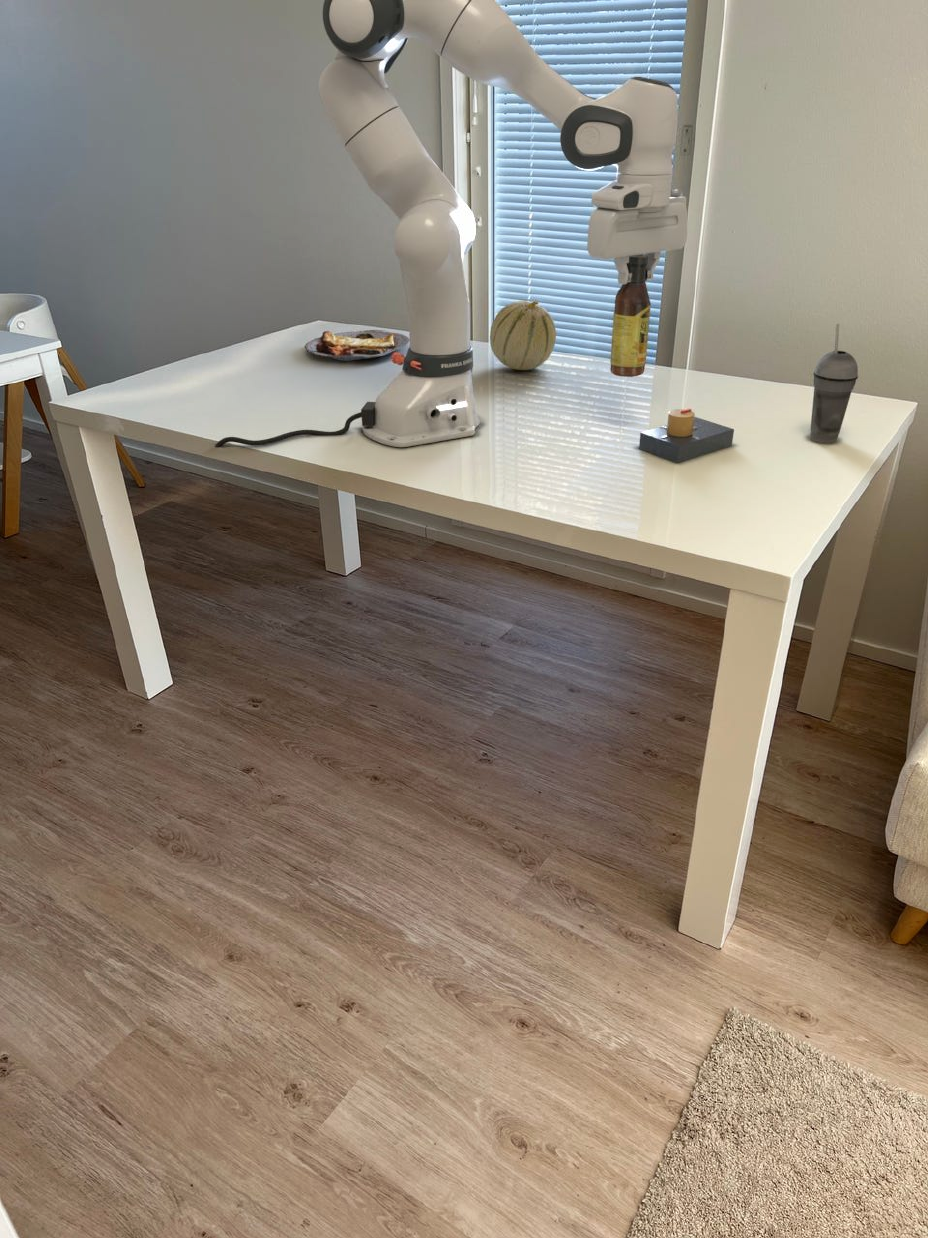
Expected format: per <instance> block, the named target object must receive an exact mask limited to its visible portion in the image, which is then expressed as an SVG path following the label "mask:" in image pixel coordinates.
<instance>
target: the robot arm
mask: <svg viewBox="0 0 928 1238" xmlns="http://www.w3.org/2000/svg"><path fill="white" fill-rule="evenodd" d="M322 22H323V28H324V30H325V33H326V35H327V37H328V39H329V41H330V42H331V44H332V45H333V46H334V47H335V48H336V49H337V53H336V56H335V57H334V59H333V60H332V61H330V62H329V63H328V65H326V67H325V68H324V70H323V71H322V73H321V74H320V77H319V80H318V88H317V91H318V94H319V97H320V101H321V103H322V105H323V107H324V110H325V112H326V114H327V116H328V119H329V121H330V123H331V125H332V127H333V129H334V131H335V133H336V134H337V136H338V138H339V140H340V142H341V143H342V145H343V147H344V148H345V150H346V151H347V153H348V155H349V156H350V158H351V161H352V162H353V163H354V165H355V166H356V168H357V169H358V171H359V173H360V174H361V176H362V178H363V180H365V182H366V184H367V186H368V187H369V189H370V190H371V192H372V193H374V194H375V195H376V196H377V197H378V198H380V200H381V201H382V202H384V204H385V205H386V206H387V207H388V209H390V210H391V212H392V213H393V214H394V215H395V216H396V217H397V219H398V220H399V222H398V224H397V227H396V229H395V233H394V237H393V247H394V251H395V255H396V257H397V259H398V260H399V268H400V273H401V277H402V282H403V286H404V291H405V296H406V304H407V312H408V313H407V314H408V316H407V317H408V331H409V332H408V333H409V336H408V338H409V339H410V342H409V347H408V349H407V352H406V353H405V355H404V354H403V353H400V352H396V351H394V352H393V353H392V355H391V356H390V360H391V362H392V363H393V364H395V365H398V366H402V371H401V372H400V373H399V374H398V375H397V376H396V377H395V378H394V379H393V380H392V381H391V383H390V384H389V385H388V386H386V387H385V388H384V389H383V391H382V392H380V394H379V395H378V396H377V397H376V399H375V401H366V403H365V404H364V405H363V406H362V408H361V409H360V412H357V413H354V414H353V415H350V416H349V417H348V418H347V419H346V420H345V423H344V427H343V428H341V429H339V430H335V431H324V430H317V429H316V430H315V429H299V430H298V429H297V430H293V431H289V432H286V433H283V434H279V435H277V436H273V437H269V438H265V439H257V440H253V439H252V440H251V439H246V438H241V437H237V436H227V437H224V438H221V439H219V441H218V442H217V443H216V444H215V446H214V447H215V448H222V446H223V445H225V444H227V443H237V444H241V445H246V446H253V447H254V446H255V447H256V446H257V447H258V446H264V445H270V444H273V443H277V442H280V441H284V440H286V439H290V438H293V437H298V436H305V435H306V436H307V435H309V436H323V437H326V436H328V437H329V436H330V437H331V436H334V437H335V436H341V435H343V434H346V433H348V431H349V430H350V427H351V423H353V422H354V421H355V420H358V419H361V426H362V430H361V431H362V433H363V434H364V435H365V436H366V437H367V438H368V439H370V440H373V441H375V442H377V443H380V444H382V445H385V446H389V447H395V448H407V447H413V446H419V445H426V444H431V443H436V442H443V441H449V440H455V439H460V438H467V437H471V436H474V435H476V428H477V427H479V425H480V424H481V420H480V417H479V414H478V410H477V406H476V402H475V401H476V400H475V395H474V388H473V387H474V386H473V377H472V373H473V367H474V353H473V346H471V307H470V306H471V304H470V300H469V296H468V292H467V286H466V281H465V280H466V279H465V272H464V256H465V255H466V254H467V253H468V252H469V251H470V249H471V247H472V246H473V243H474V241H475V237H476V231H477V230H476V229H477V228H476V220H475V219H476V218H475V216H474V213H473V211H472V209H471V208H470V207H469V205H468V204H466V202H465V201H464V200H463V199H462V197H461V196H460V194H459V193H458V192H457V190H456V188H455V187H454V186H453V184H452V183H451V182H450V180H449V179H448V178H447V177H446V175H445V174H444V173H443V171H442V170H441V169H440V167H439V166H438V165H437V164H436V163H435V161H434V160H433V158H432V157H431V156H430V154H429V153H428V151H427V150H426V149H425V146H424V145H423V144H422V142H421V140H420V138H419V137H418V135H417V133H416V132H415V131H414V129H413V127H412V125H411V123H410V122H409V120H408V119H407V117H406V115H405V113H404V111H403V110H402V108H401V106H400V105H399V103H398V102H397V99H396V98H395V96H394V95H393V93H392V92H391V89H390V87H389V86H388V83H387V81H386V77H385V74H387V73H388V72H389V71H390V70H391V68H392V67H393V65H394V63H395V62H396V61H397V59H398V57H399V56H400V54H401V53H402V51H403V50H404V48H405V47H406V45H407V43H408V41H409V39H415V40H417V41H419V42H421V43H423V44H424V45H425V46H426V47H428V48H429V49H430V50H432V51H433V52H434V53H435V54H436V55H438V56H439V57H440V58H441V59H442V60H443V61H444V62H445V63H447V64H448V65H449V66H450V67H452V68H453V69H455V70H456V71H458V72H459V73H460V74H462V75H464V76H466V77H468V78H469V79H471V80H473V81H475V82H477V83H478V84H479V83H480V84H482V85H487V86H490V87H493V88H498V89H500V90H504V91H507V92H510V93H511V94H514V95H516V96H517V97H519V98H521V99H522V100H523V101H525V102H526V103H527V104H529V105H530V107H532V108H533V109H534V110H536V112H538V113H539V114H540V115H542V116H543V117H544V118H546V120H548V121H549V122H550V123H551V124H553V126H555V127H556V128H557V129H558V130H559V132H560V136H559V140H560V141H559V142H560V148H561V151H562V153H563V155H564V157H565V159H566V160H567V161H568V162H569V163H570V164H571V165H572V166H574V167H576V168H578V169H579V170H583V171H596V170H599V169H602V168H604V167H609V166H615V167H616V179H615V180H613V181H610V182H609V183H608V184H607V185H605V186H602V187H601V188H599V189H597V190H596V191H594V192H593V193H592V194H591V206H592V207H594V209H593V210H592V212H591V214H590V216H589V221H588V230H587V244H586V245H587V246H586V247H587V248H586V249H587V253H588V254H589V256H590V257H591V258H593V259H596V260H612V259H614V260H613V263H614V266H615V267H616V271H617V273H618V274H617V276H618V277H617V283H618V284H619V285H624V284H629V283H631V281H632V280H631V278H632V273H630V272H628V268H627V264H626V263H629V256H633V255H640V254H644V255H647V256H648V264H647V266H646V281H645V282H647V281H652V280H653V278H654V273H655V271H654V270H656V267H657V265H658V263H659V261H660V259H661V252H669V251H674V250H682V249H683V248H684V247H685V245H686V243H687V239H688V208H687V197H686V195H685V193H684V192H683V191H682V190H681V189H674V190H672V180H673V173H674V170H673V169H674V168H673V163H672V157H673V151H674V149H675V147H676V143H677V132H678V118H679V117H678V116H679V115H678V114H679V105H678V95H677V92H676V91H675V89H674V87H673V86H672V85H671V84H669V83H668V82H666V81H661V80H658V79H654V78H649V77H643V76H633V77H630V78H629V79H628V80H627V81H626V82H625V83H623V84H621V86H618V87H617V88H616V89H614V90H612V91H611V92H609V93H606V94H605V95H603V96H601V97H592V96H588V95H587V94H585V93H583V92H581V90H579V89H578V88H576V87H575V86H574V85H573V84H571V83H570V82H569V81H568V80H567V79H566V78H565V77H563V76H562V75H561V74H559V73H558V72H557V71H556V70H555V69H554V68H553V67H551V66H550V65H549V64H548V63H546V61H544V60H543V58H541V57H540V56H539V54H538V53H537V52H536V51H535V49H534V48H533V47H532V45H531V44H530V43H529V42H528V40H527V39H526V37H525V36H524V34H523V33H522V32H521V30H520V28H518V26H517V25H516V24H515V22H514V21H513V20H512V18H511V16H509V14H508V13H507V12H506V11H505V10H504V9H503V8H502V6H500V4H499V3H498V2H497V1H496V0H324V1H323V4H322Z"/></svg>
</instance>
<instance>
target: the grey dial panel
mask: <svg viewBox="0 0 928 1238" xmlns="http://www.w3.org/2000/svg"><path fill="white" fill-rule="evenodd" d="M734 433H735V428H731V427H730V426H729V427H728V426H725V425H722V424H719V423H716V422H713V421H710V420H707V419H703V418H700V417H697V416H695V417H694V425H693V434H692V435H690V436H687V437H675V436H671V435H669V434H667V424H666V425H660V426H658V427H655V428H651V429H648V430H645V431H641V432H640V433H639V444H638V449H639V450H641V451H643V452H647V453H649V454H652V455H655V456H657V457H659V458H663V459H664V460H668V461H671V462H674V463H675V464H679V463H682V462H685V461H689V460H691V459H694V458H698V457H701V456H705V455H707V454H710V453H713V452H715V451H719V450H723V449H725V448H729V447H731V446H732V447H733V441H734Z"/></svg>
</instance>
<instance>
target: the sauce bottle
mask: <svg viewBox="0 0 928 1238" xmlns="http://www.w3.org/2000/svg"><path fill="white" fill-rule="evenodd" d="M626 264H627V268H628V272H630V273H632V278H631V280H632V281H631V283H629V284H624V285H623V284H621V286H620V288H619V289H618V291H617V292H616V295H615V299H614V310H613V311H614V312H613V316H612V317H613V318H612V331H611V333H612V334H611V347H610V360H609V361H610V369H609V370H610V373H611V374H613V375H614V376H616V377H617V376H618V377H625V378H626V377H627V378H632V377H638V376H642V375H643V374H644V373H645V369H646V367H645V366H646V363H647V353H648V340H649V330H650V319H651V308H652V307H651V304H652V303H651V299H650V296H649V292H648V287H647V281H646V266H647V264H648V256H647V255H646V254H640V255H633V256H629V263H626Z"/></svg>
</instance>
